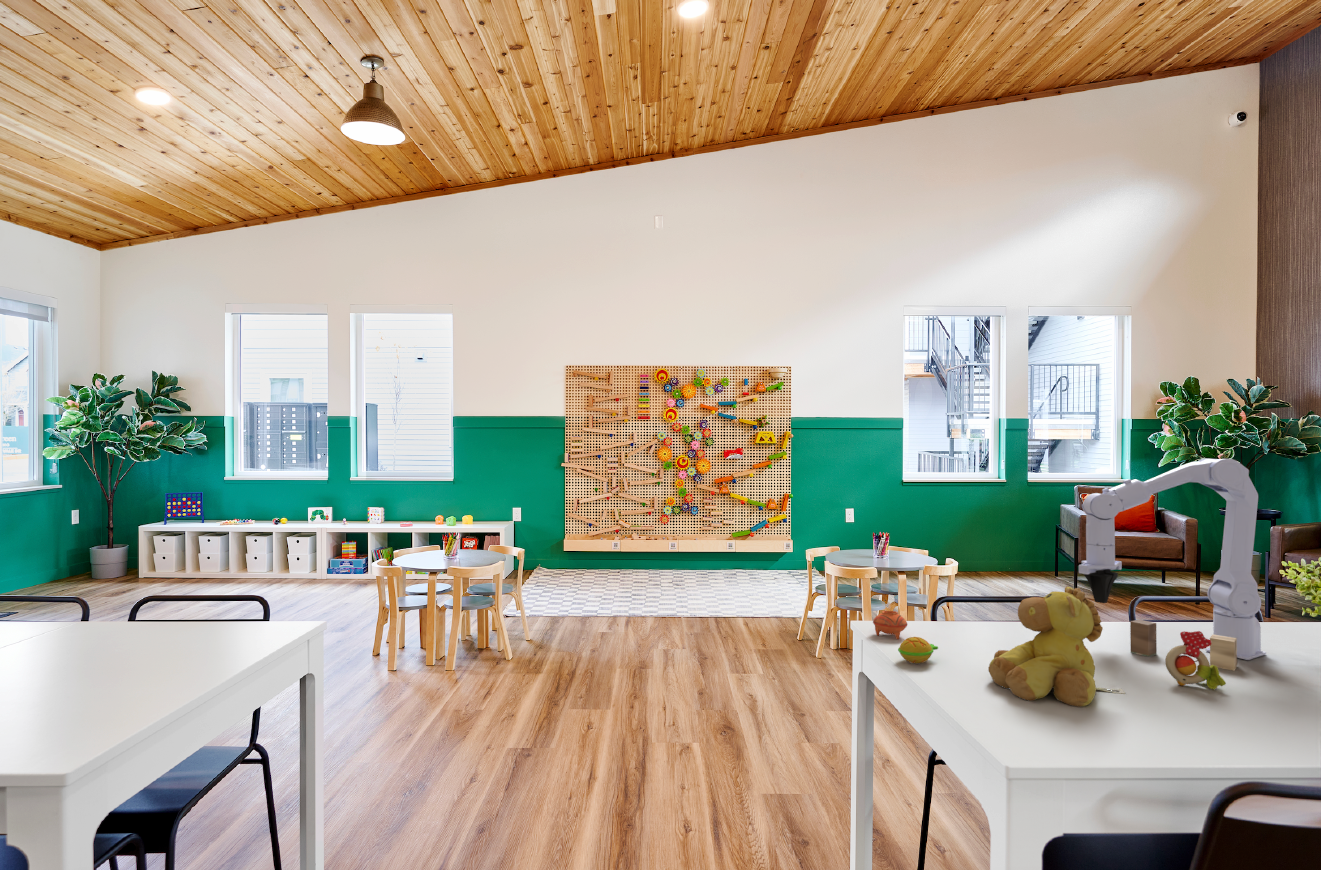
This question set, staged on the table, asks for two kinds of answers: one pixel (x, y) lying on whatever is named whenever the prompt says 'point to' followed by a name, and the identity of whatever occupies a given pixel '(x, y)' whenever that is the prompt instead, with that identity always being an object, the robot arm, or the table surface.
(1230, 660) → the oak block
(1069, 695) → the giraffe plush
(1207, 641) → the bird rattle
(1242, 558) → the robot arm
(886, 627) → the pot
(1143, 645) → the walnut block
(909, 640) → the yellow green oval toy
